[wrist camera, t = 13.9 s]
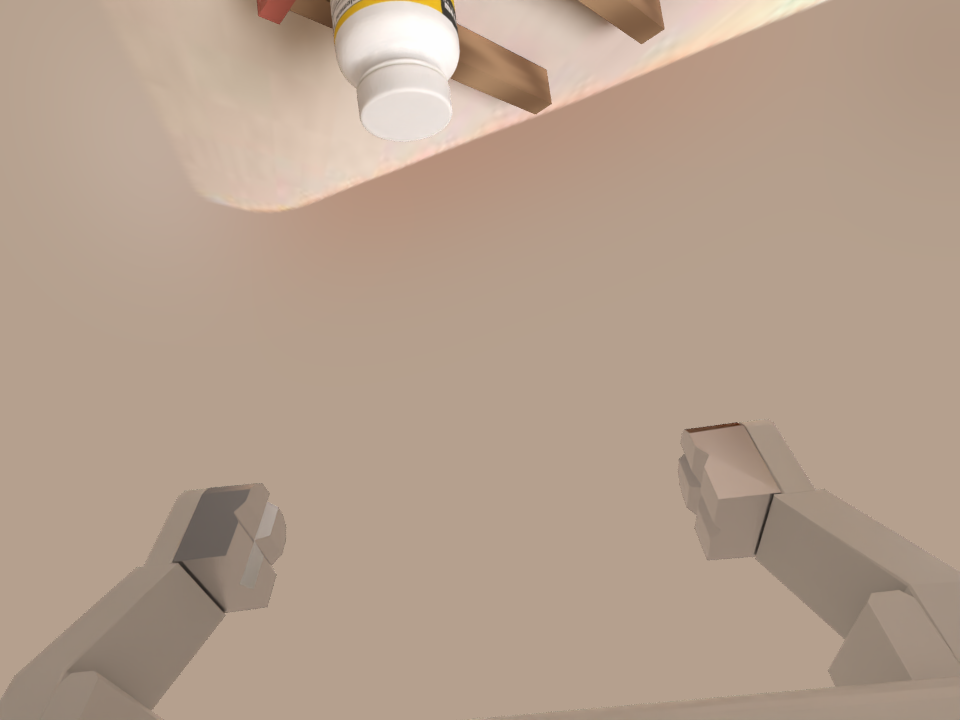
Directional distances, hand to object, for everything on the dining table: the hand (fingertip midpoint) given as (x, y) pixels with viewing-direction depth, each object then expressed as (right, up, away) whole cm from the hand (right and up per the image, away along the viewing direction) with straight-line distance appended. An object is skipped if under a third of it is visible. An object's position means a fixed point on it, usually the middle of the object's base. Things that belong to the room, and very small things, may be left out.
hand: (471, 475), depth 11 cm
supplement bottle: (-4, +22, +14) cm, 27 cm away
